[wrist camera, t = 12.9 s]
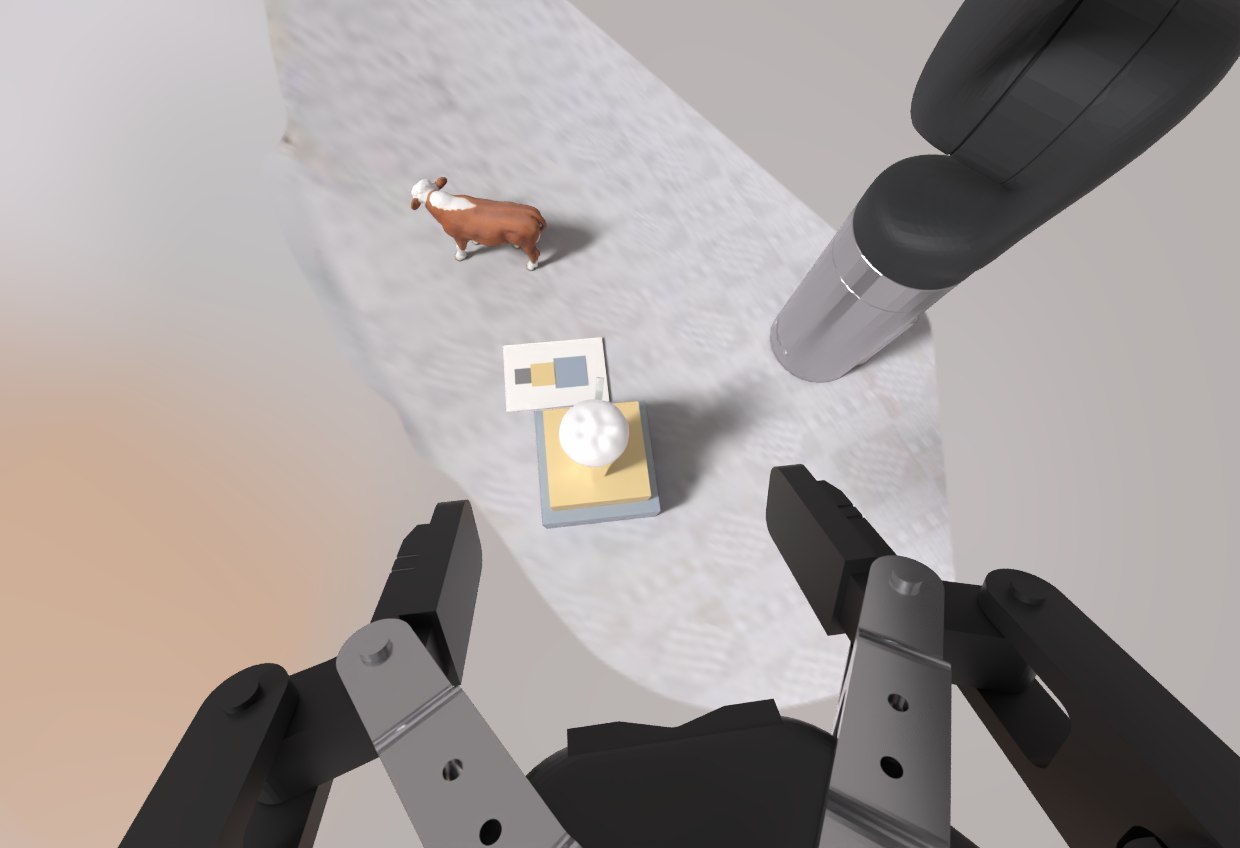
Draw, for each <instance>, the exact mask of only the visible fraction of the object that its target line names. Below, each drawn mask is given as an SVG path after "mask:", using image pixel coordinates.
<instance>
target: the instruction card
mask: <svg viewBox="0 0 1240 848" xmlns="http://www.w3.org/2000/svg"><path fill="white" fill-rule="evenodd" d="M503 356H504V374H505V392H506V410H507V412H518V411H528V410H538V409H549V408H559V407H569V406H574V405H575V404H577V403H579V402H581V401H584V400H589V399H595V392H596V379H597V377H602V378H604V384H603V395H602V400H604V401H607V402H609V394H608V386H607V377H606V369H605V360H604V352H603V343H602V337H599V338H587V339H576V340H564V341H552V342H541V343H529V344H517V345H506V346H503Z"/></svg>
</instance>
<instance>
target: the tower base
mask: <svg viewBox="0 0 1240 848" xmlns="http://www.w3.org/2000/svg"><path fill="white" fill-rule="evenodd" d="M614 405H615V406H616V407H618V408H619V409H620V411H621V412H622V413H623V415H624V417H625V418H626V420H627V422H628V425H629V439H628V443H627V446H626V448H625V450H624V452H623V453H622V454H621V456H620V457H619V458H618V460H617V462H616V463H615V465H614V467H613V468H612V469H611V470H610V471H609V472H608V473H607V474H606V475H605V476H604V477H599V478H594V479H591V478H589V477H587V476H585V475H583V474H580V472H579V471H578V469H577V467H576V466H575V464H574V463H573V461H572V460H571V459H570V458H569V457H568V455H567V454H566V453H565V452H564V450H563V448H562V446H561V444H560V440H559V428H560V424H561V421H562V418H563V416H564V415H565V413H566V412H567V411H568V410H569V409H570V408H562V409H552V410H543V411H534V415H535V429H536V443H537V457H538V471H539V485H540V499H541V513H542V525H543V526H544V527H546V528H547V529H549V528H557V527H566V526H575V525H583V524H592V523H601V522H609V521H618V520H627V519H635V518H644V517H653V516H656V515H657V514H658V513H659V512H660V504H659V496H658V489H657V482H656V475H655V468H654V461H653V453H652V446H651V439H650V432H649V425H648V418H647V410H646V403H645V401H635V402H624V403H614Z"/></svg>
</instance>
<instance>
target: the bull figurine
mask: <svg viewBox="0 0 1240 848" xmlns="http://www.w3.org/2000/svg"><path fill="white" fill-rule="evenodd" d="M446 183H447V179H446V178H445V177H441V178H438V180H437V181H436V182H435V183H431V181H429V180H427V179H423V180H421V181H419V182H418V184H416V185H415V186H413V189H412V191H411V193H412V196H413V198H414V199H413V200H412V202H411V208H412V209H413V210H416V209H418V208H419V206H420V205H421V204H422V205H423V206H425V207H426V209H427V210H428V211H429V212H430V213H431V214H432V215H433V217H434V218H435V219H436V220H437V221H438V222H439V223H440V224H441V225H442V226H443V229H444V231H445V232H446V233H447V234H448V235H450V236H451V237H454V239H455V241H456V243H457V244H456V246H457V249H458V252H457V254H456V255H455V259H456V260H457V261H462V259H465V257H466V256H467V254H466V252H465V249H466V247H467V243H468V241H470V240H472V243H473V244H475V245H477V244H478V243H480V244H483V245H487V246H497V245H501V244H505V243H512V246H513V247H514V248H516V249H517V248H519V247H521V248H522V249H523V250H524V251H525V252H526V253H527V254H528V256H529V258H530V261H529V262H528V263H527V266H526V269H527V270H529V271H532V270H533V269H534V267H538V257H539V256H540V252H539V251H538V250H537V249H536V247H535V243H537V242H538V241H539V239H540V235H541V231H543V230H545V228H546V222H545V220H544V218H543V217H542V216H541V214H540V212H539V210H538V209H536V208H535V207H532V206H528V205H522V204H516V203H513V202H500V201H493V200H488V199H480V198H474V197H471V196H467V195H452V194H449V193H447V192H442V191H439V190H440V189H441V188H442V187H443V186H444V185H445V184H446ZM540 223H541V224H542V227H540V228H539V225H540Z"/></svg>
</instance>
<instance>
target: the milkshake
mask: <svg viewBox="0 0 1240 848" xmlns="http://www.w3.org/2000/svg"><path fill="white" fill-rule="evenodd" d="M603 384H604V378H602V377H597V379H596V392H595V399H589V400H584V401H581V402H579V403H577V404H575V405H574V406H572V407H571V408H570V409H569V410H568V411H567V412H566V413H565V415H564V416H563V418H562V421H561V424H560V428H559V440H560V444H561V446H562V448H563V450H564V452H565V453H566V454H567V455H568V457H569V458H570V459H571V460H572V461H573V463H574V464H575V466H576V467H577V469H578V471H579V472H580V474H583V475H585V476H587V477H589V478H591V479H594V478H599V477H604V476H605V475H606V474H607V473H608V472H609V471H610V470H611V469H612V468H613V467H614V465H615V463H616V462H617V460H618V458H619V457H620V456H621V454H622V453H623V452H624V450H625V448H626V446H627V443H628V439H629V425H628V422H627V420H626V418H625V417H624V415H623V413H622V412H621V411H620V409H619V408H618V407H616V406H615V405H614V404H612V403H610V402H607V401H604V400H602V395H603Z"/></svg>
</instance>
